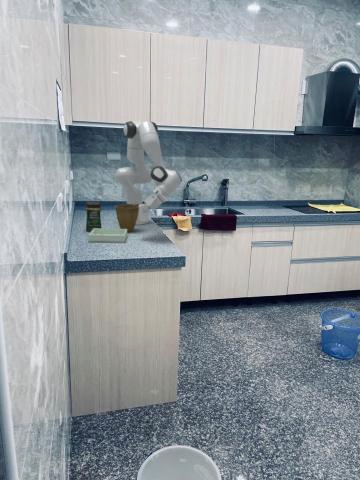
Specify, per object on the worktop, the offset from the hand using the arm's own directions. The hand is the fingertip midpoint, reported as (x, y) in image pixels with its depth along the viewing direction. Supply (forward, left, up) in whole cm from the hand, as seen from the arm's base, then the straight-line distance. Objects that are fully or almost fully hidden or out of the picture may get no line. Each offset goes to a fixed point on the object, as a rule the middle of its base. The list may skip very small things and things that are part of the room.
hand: (142, 211), depth 205 cm
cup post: (0, +1, -5) cm, 5 cm away
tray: (+1, -19, -16) cm, 25 cm away
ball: (+6, -23, -14) cm, 27 cm away
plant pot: (-21, -10, -16) cm, 29 cm away
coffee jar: (-20, -31, -16) cm, 41 cm away
